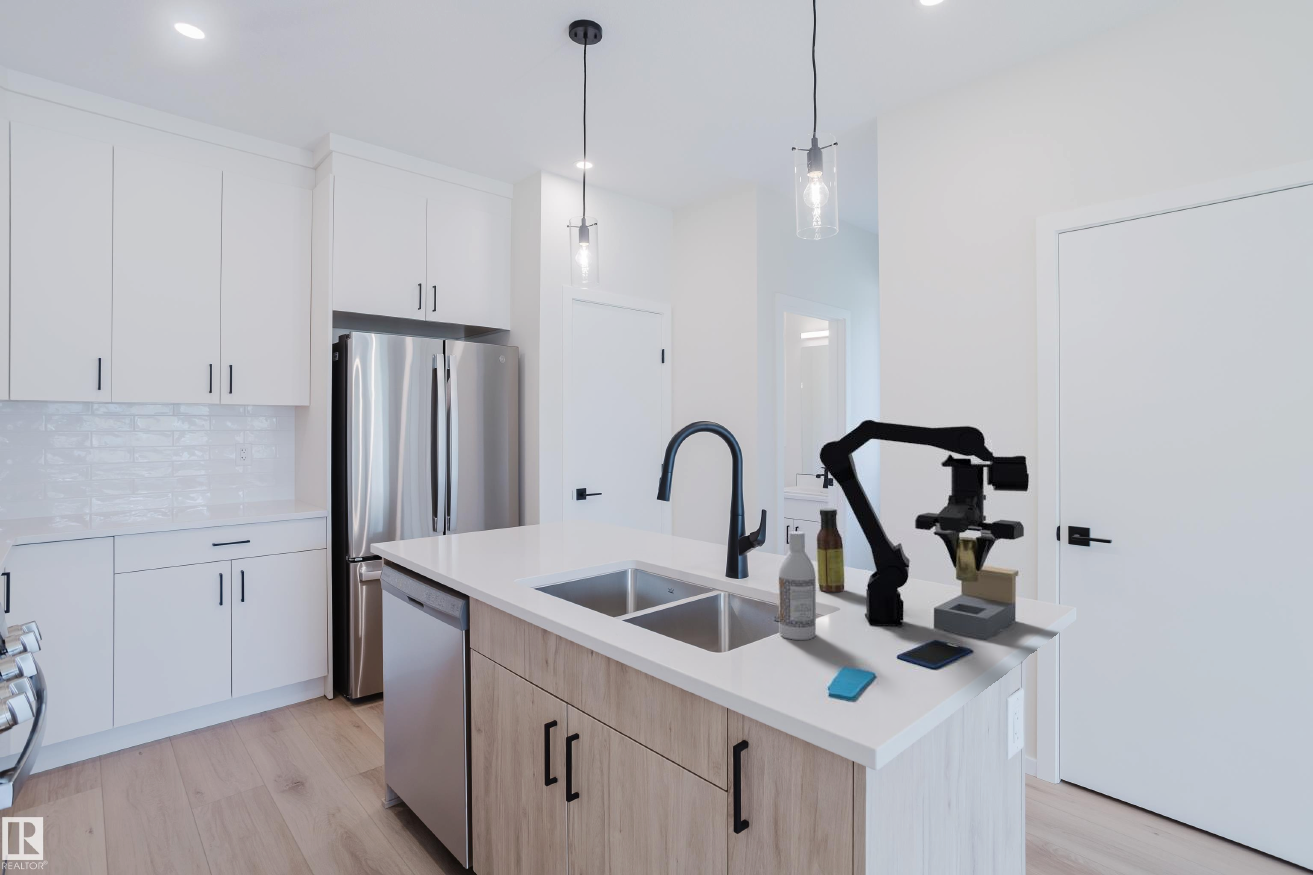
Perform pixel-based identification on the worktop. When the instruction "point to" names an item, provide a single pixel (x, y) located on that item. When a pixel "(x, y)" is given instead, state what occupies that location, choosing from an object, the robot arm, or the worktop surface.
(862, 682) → the sponge
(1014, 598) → the socket block
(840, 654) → the worktop surface
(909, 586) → the worktop surface
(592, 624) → the worktop surface
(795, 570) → the bath foam
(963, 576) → the peg
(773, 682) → the worktop surface
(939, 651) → the cell phone
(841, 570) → the sauce bottle
